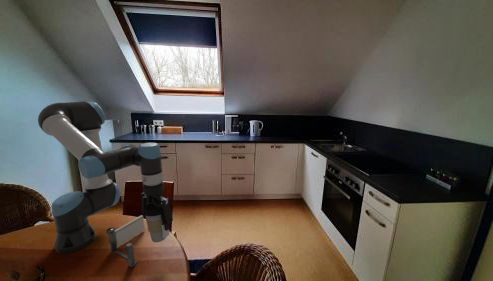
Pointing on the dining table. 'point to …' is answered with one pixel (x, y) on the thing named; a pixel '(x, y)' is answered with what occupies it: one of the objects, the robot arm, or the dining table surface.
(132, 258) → the post
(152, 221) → the coffee cup
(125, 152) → the robot arm
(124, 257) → the bar
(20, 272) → the dining table surface
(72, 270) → the dining table surface
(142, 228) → the gate
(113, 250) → the hinge post
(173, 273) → the dining table surface
